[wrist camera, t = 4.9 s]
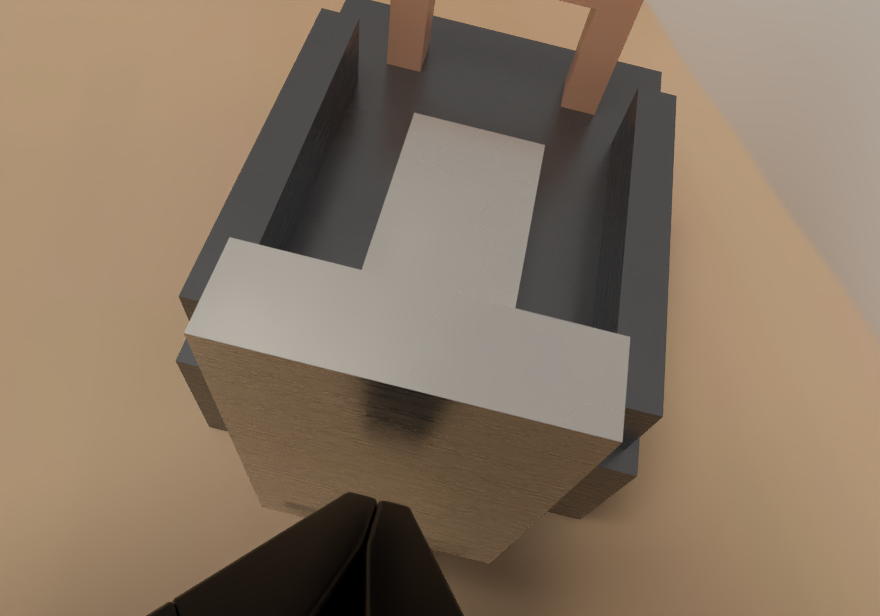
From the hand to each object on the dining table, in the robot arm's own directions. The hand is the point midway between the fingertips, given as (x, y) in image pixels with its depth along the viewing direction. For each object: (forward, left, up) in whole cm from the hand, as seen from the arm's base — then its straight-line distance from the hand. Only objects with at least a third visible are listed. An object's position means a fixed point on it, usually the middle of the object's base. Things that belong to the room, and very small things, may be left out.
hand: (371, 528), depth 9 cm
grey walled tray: (+3, +9, -8) cm, 13 cm away
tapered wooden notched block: (+2, +5, -4) cm, 7 cm away
